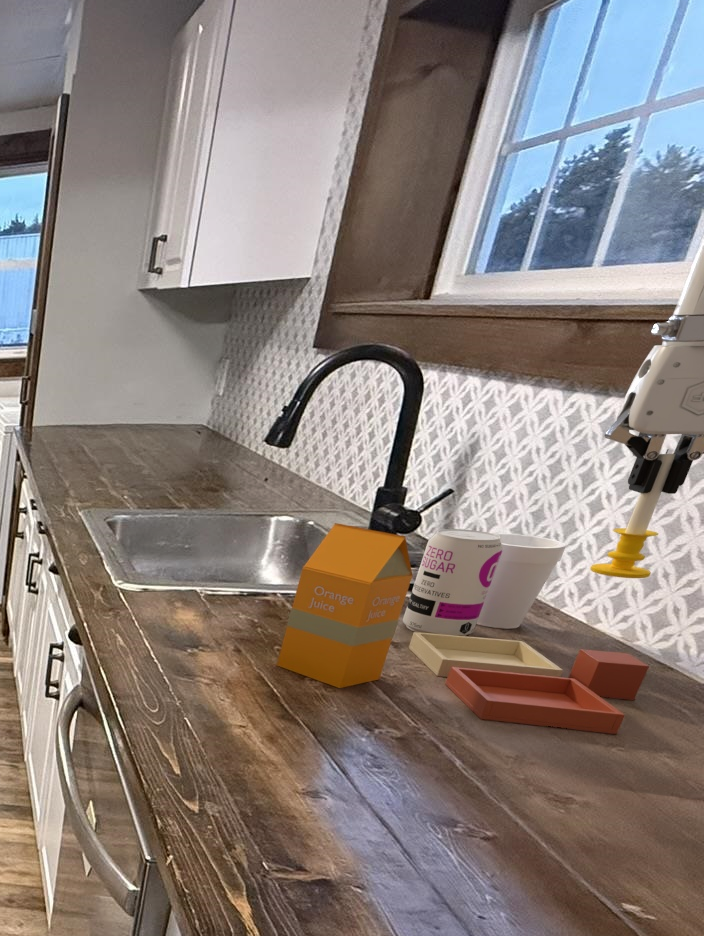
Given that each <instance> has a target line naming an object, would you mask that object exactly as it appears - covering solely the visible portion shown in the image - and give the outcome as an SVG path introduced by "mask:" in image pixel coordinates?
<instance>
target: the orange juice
mask: <svg viewBox="0 0 704 936" xmlns="http://www.w3.org/2000/svg"><path fill="white" fill-rule="evenodd" d="M413 575H414V574H413V571H412V566H411V560H410V554H409V550H408V545H407V539H406V536H404V535H401V534H394V533H389V532H384V531H379V530H373V529H368V528H364V527H358V526H352V525H348V524H347V525H346V524H342V523H337V522H334V524H333V526H332V527H331V528H330V530H329V531H328V533H327V534H326V536H325V537H324V538H323V539H322V541H321V542H320V544H319V545H318V546H317V548H316V549H315V551H314V552H313V553H312V555H311V556H310V557H309V559H308V560H307V562H306V563H305V565H303V566H302V569H301V572H300V576H299V579H298V584H297V587H296V591H295V595H294V599H293V604H292V606H291V609H290V612H289V616H288V620H287V623H286V629H285V633H284V637H283V640H282V644H281V647H280V652H279V654H278V658H277V662H276V666H277V667H280V668H283V669H284V670H289V671H291V672H294V673H296V674H300V675H302V676H305V677H307V678H310V679H313V680H316V681H318V682H321V683H324V684H327V685H329V686H332V687H335V688H338V689H343V688H346V687H351V686H355V685H360V684H364V683H368V682H374V681H377V680H380V678H381V674H382V672H383V669H384V665H385V662H386V659H387V656H388V653H389V650H390V646H391V643H392V641H393V639H394V636H395V633H396V630H397V626H398V623H399V621H400V615H401V613H402V610H403V607H404V603H405V600H406V597H407V594H408V591H409V588H410V585H411V581H412V578H413Z"/></svg>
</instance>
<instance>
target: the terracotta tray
mask: <svg viewBox="0 0 704 936" xmlns="http://www.w3.org/2000/svg"><path fill="white" fill-rule="evenodd" d="M444 685H445V686H446V687H447V688H449V689H450V690H451V691H452V692H453V694H455V695H456V696H457V698H459V699H460V701H462V702H463V703H464V704H465V705H466V707H468V708H469V709H470V710H471V711H472V712H473V713H474V714H475V715H476V716H477V717H478V718H479V719H480V720H487V721H494V722H503V723H505V722H506V723H512V724H521V725H531V726H538V727H539V726H540V727H548V726H551V727H550V728H557V727H561V728H560V729H566V728H567V729H568V730H575V731H576V730H577V731H582V732H583V731H584V732H593V733H602V734H611V735H617V734H618V732H619V730H620V727H621V726H622V723H623V722H624V721H623V720H624V719H625V716H626V714H624V713H623V712H622V711H620V710H619V709H618V708H616V707H615V706H613V705H612V704H610V703H609V701H607V700H605V699H604V698H603V697H600V696H598V695H597V694H595V693H594V692H593V691H591V690H590V689H588V688H587V687H586V686H584V685H583V684H582V683H580V682H579V681H577V680H576V679H574V678H568V677H565V676H564V677H563V676H561V677H553V676H543V675H532V674H522V673H511V672H501V671H490V670H480V669H469V668H459V667H451V669H450V672H449V675H448V677H446V680H445V683H444ZM552 726H553V727H552Z"/></svg>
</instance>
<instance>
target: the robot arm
mask: <svg viewBox="0 0 704 936" xmlns="http://www.w3.org/2000/svg"><path fill="white" fill-rule="evenodd" d="M651 336H660V337H661V339H660V340H661V341H662V343H661V344H657V345H653V347H652V348H651V350H650V351H649V353H648V354H647V356H646V358H645V359H644V360H643V362H642V363H641V365H640V367H639V369H638V370H637V372H636V374H635V376H634V377H633V380H632V382H631V384H630V386H629V387H628V390H627V391H626V394H625V396H624V399H623V401H622V403H621V405H620V408H619V410H618V414H617V416H616V420H615V422H614V423H613V424H612V425H611V426H610V427H609V429H608V430H607V431H606V432H605V433H604V438H605V439H607V440H610V441H612V442H613V441H614V442H617V443H619V444H623V445H624V446H625V447H626V448H627V449H628V450H629V451H630V452H631V453H632V456H633V457H635V460H634V463H633V465H632V468H631V471H630V474H629V476H628V479H627V484H628V490H629V491H633V492H636V493H639V494H641V493H648V492H651V490H652V487H653V485H654V482H655V480H656V477H657V475H658V472H659V470H660V467H661V465H662V461H661V460H658V457H659V454H661V451H662V448H663V445H664V442H665V440H666V437H667V435H680V437H679V440H678V442H677V445H676V446H675V449H674V451H673V452H672V454H675V457H674V460H673V463H672V466H671V469H670V471H669V474H668V476H667V479H666V482H665V484H664V487H663V489H662V492H661V493H665V494H669V495H674V494H677V492H678V490H679V487H681V486H683V485H684V484H685V482H686V479H687V477H688V474H689V471H690V469H691V467H692V464H693V462H694V461H698V460H699V459H700V458H702V456H703V455H704V233H703V234H702V237H701V240H700V242H699V244H698V247H697V250H696V252H695V255H694V258H693V261H692V263H691V266H690V268H689V271H688V274H687V276H686V279H685V282H684V284H683V287H682V290H681V292H680V295H679V298H678V300H677V304H676V305H675V308H674V311H673V314H672V315H671V316H669V318H668V321H664V322H657V323H655V324H654V325H653V327H652V328H651ZM630 431H635V432H637V433H638V435H636V434H633V433H631V432H630Z"/></svg>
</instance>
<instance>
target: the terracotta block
mask: <svg viewBox="0 0 704 936" xmlns="http://www.w3.org/2000/svg"><path fill="white" fill-rule="evenodd" d="M649 668H650V666H649V665H648V664H646V663H645V662H643V661H642V660H639V659H638V658H636V657H635V656H633V655H631V654H630V653H628V652H617V651H607V650H606V651H604V650H596V649H595V650H594V649H584V648H583V649H582V648H580V649H579V650H578V654H577V656H576V658H575V661H574V662H573V664H572V668H571V670H570V672H569V675H568V677H567V678H574V679H576V680H577V681H579V682H580V683H582V684H583V685H584V686H586V687H587V688H588V689H590V690H591V691H593V692H594V693H595V694H597V695H598V696H601V698H608V697H609V698H610V699H618V700H628V701H635V699H636V696H637V694H638V692H639V690H640V688H641V685H642V684H643V681H644V679H645V676H646V674H647V672H648V671H649Z"/></svg>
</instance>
